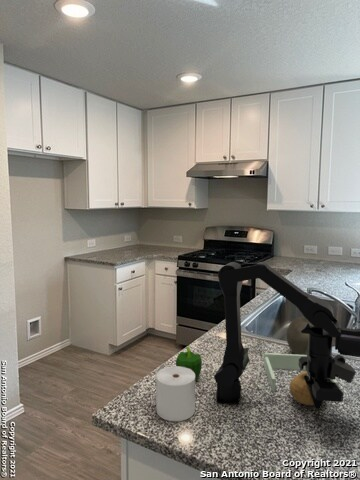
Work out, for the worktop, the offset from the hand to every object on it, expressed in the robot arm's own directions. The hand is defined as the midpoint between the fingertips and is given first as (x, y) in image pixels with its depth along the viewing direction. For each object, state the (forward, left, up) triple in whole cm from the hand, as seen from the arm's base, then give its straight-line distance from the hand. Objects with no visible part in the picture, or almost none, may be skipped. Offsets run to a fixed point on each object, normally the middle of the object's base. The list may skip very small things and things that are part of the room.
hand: (317, 408), depth 90 cm
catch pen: (0, +21, -3) cm, 21 cm away
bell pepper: (-35, +18, -3) cm, 39 cm away
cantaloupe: (+7, +39, -3) cm, 39 cm away
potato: (0, +9, -3) cm, 9 cm away
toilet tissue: (-38, +1, -3) cm, 38 cm away
